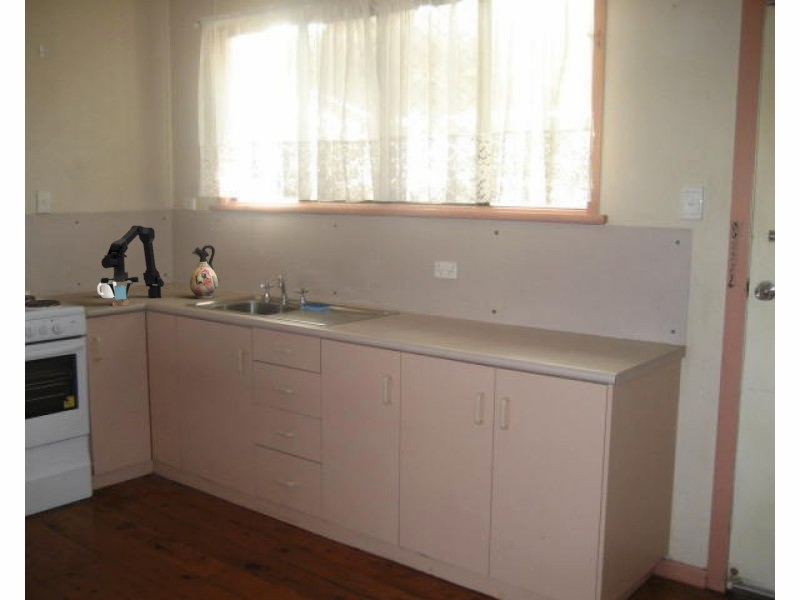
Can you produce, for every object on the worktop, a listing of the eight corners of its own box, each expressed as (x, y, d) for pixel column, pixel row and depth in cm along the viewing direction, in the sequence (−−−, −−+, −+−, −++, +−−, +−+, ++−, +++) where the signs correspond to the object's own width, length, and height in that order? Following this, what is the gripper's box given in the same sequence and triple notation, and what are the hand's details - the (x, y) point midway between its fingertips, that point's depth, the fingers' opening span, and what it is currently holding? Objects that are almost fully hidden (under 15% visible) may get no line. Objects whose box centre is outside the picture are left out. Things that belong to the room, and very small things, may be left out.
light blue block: (126, 297, 424) (125, 285, 423) (126, 299, 419) (125, 286, 418) (115, 298, 423) (114, 285, 422) (114, 299, 417) (114, 286, 416)
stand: (128, 303, 426) (128, 290, 425) (128, 305, 419) (128, 292, 418) (112, 303, 424) (112, 290, 423) (112, 306, 416) (111, 292, 415)
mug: (102, 299, 440) (101, 280, 438) (92, 298, 444) (91, 280, 442) (120, 297, 450) (119, 278, 448) (110, 295, 454) (109, 277, 453)
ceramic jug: (191, 300, 438) (189, 245, 434) (189, 296, 453) (187, 243, 449) (222, 298, 444) (221, 245, 440) (219, 295, 458) (218, 243, 454)
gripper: (99, 268, 408) (101, 298, 410) (137, 267, 414) (139, 297, 416) (100, 266, 418) (101, 296, 421) (137, 265, 424) (139, 294, 426)
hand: (120, 296), depth 421 cm, fingers closed on light blue block, 6 cm apart
